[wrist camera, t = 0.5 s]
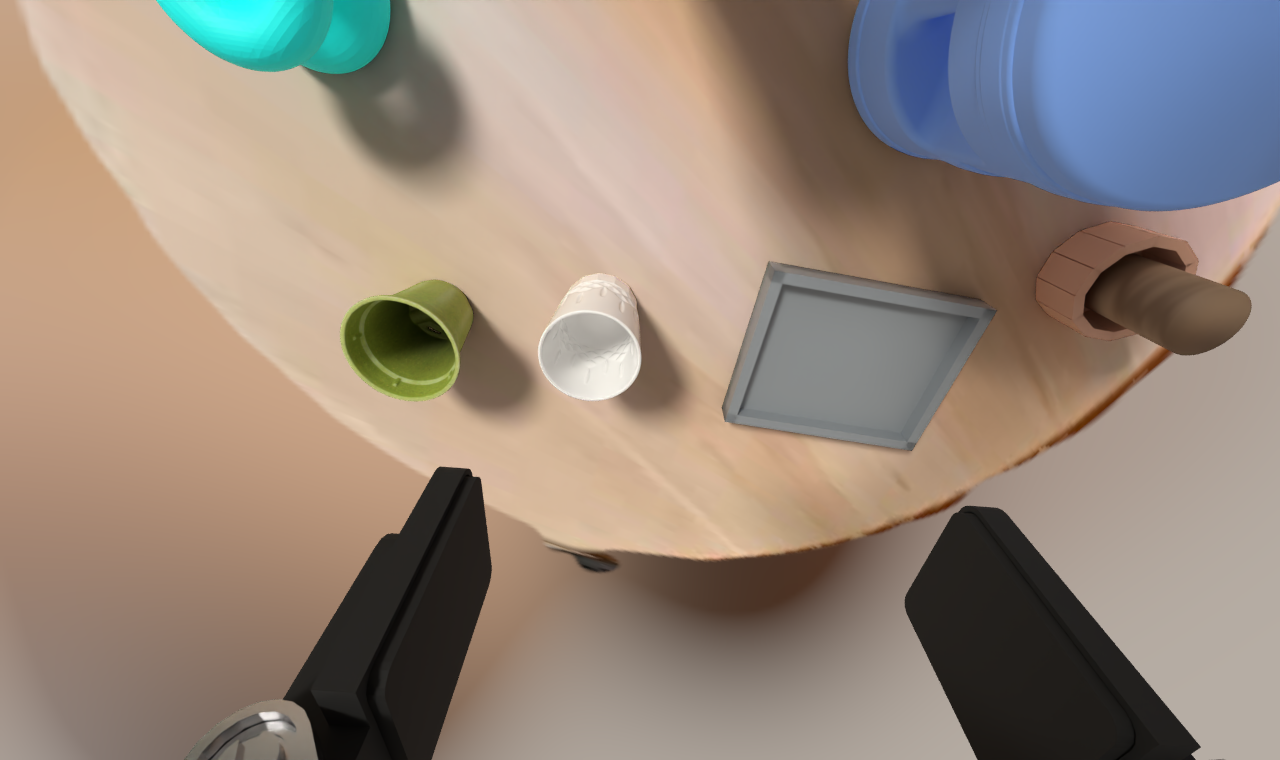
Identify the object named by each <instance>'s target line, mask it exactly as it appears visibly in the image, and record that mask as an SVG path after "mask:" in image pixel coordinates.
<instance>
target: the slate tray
mask: <svg viewBox="0 0 1280 760" xmlns="http://www.w3.org/2000/svg"><path fill="white" fill-rule="evenodd" d="M996 311H997V310H996V309H994V308H993V307H991V306H990V305H988V304H987V303H985V302H984V301H982V300H981V299H975V298H970V297H964V296H959V295H953V294H948V293H942V292H937V291H931V290H926V289H920V288H914V287H909V286H903V285H898V284H892V283H887V282H881V281H876V280H870V279H865V278H859V277H854V276H848V275H843V274H837V273H831V272H826V271H820V270H815V269H809V268H804V267H798V266H793V265H787V264H782V263H776V262H771V261H769V262H768V265H767V268H766V271H765V274H764V278H763V281H762V284H761V287H760V290H759V293H758V296H757V299H756V303H755V306H754V309H753V312H752V315H751V318H750V321H749V324H748V328H747V331H746V334H745V337H744V340H743V343H742V346H741V349H740V353H739V356H738V359H737V362H736V365H735V368H734V371H733V374H732V378H731V381H730V384H729V387H728V390H727V393H726V396H725V399H724V403H723V406H722V410H723V415H724V420H725V422H730V423H737V424H743V425H749V426H756V427H762V428H769V429H775V430H782V431H788V432H794V433H801V434H807V435H814V436H820V437H827V438H833V439H839V440H846V441H852V442H859V443H865V444H872V445H878V446H885V447H891V448H897V449H904V450H910V451H912V450H913V448H914V447H915V445H916V443H917V442H918V440H919V438H920V437H921V435H922V433H923V432H924V430H925V428H926V427H927V425H928V423H929V422H930V420H931V419H932V417H933V415H934V414H935V412H936V410H937V409H938V407H939V405H940V404H941V402H942V400H943V399H944V397H945V395H946V394H947V392H948V391H949V389H950V387H951V386H952V384H953V382H954V381H955V379H956V377H957V376H958V374H959V372H960V371H961V369H962V367H963V366H964V364H965V363H966V361H967V359H968V358H969V356H970V354H971V353H972V351H973V349H974V348H975V346H976V344H977V343H978V341H979V339H980V338H981V336H982V335H983V333H984V331H985V330H986V328H987V326H988V325H989V323H990V321H991V320H992V318H993V316H994V315H995V313H996Z"/></svg>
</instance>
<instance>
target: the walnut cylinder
mask: <svg viewBox="0 0 1280 760" xmlns="http://www.w3.org/2000/svg"><path fill="white" fill-rule="evenodd" d="M1084 307H1086V308H1088V309H1090V310H1092V311H1094V312H1096V313H1098V314H1100V315H1102V316H1104V317H1106V318H1108V319H1109V320H1111V321H1113V322H1115V323H1117V324H1119V325H1121V326H1123V327H1125V328H1127V329H1129V330H1131V331H1133V332H1135V333H1137V334H1139V335H1141V336H1142V337H1144V338H1146V339H1148V340H1150V341H1152V342H1154V343H1156V344H1158V345H1160V346H1162V347H1164V348H1166V349H1168V350H1170V351H1172V352H1174V353H1176V354H1180V355H1196V354H1200V353H1203V352H1207V351H1209V350H1211V349H1214V348H1216V347H1218V346H1220V345H1221V344H1223V343H1225V342H1226V341H1227V340H1229V339H1230V338H1231V337H1233V336H1234V335H1235V334H1236V333H1237V332H1238V331H1239V330H1240V329H1241V328H1242V327H1243V325H1244V323H1245V322H1246V321H1247V319H1248V317H1249V315H1250V312H1251V300H1250V298H1249V297H1248V295H1247V294H1245V293H1244V292H1241V291H1239V290H1236V289H1233V288H1230V287H1228V286H1225V285H1222V284H1219V283H1216V282H1213V281H1211V280H1208V279H1205V278H1202V277H1199V276H1196V275H1194V274H1191V273H1188V272H1185V271H1182V270H1179V269H1177V268H1174V267H1171V266H1168V265H1165V264H1162V263H1160V262H1157V261H1154V260H1151V259H1148V258H1145V257H1142V256H1140V255H1137V254H1134V253H1131V254H1127V255H1125V256H1124V257H1122V258H1121V259H1119V260H1118V261H1117V262H1115V263H1114V264H1112V265H1111V266H1110V267H1108V268H1107V269H1105V270H1104V271H1103V272H1101V273H1100V275H1099V276H1098V278H1097V279H1096V280H1095V282H1094V283H1093V285H1092V286H1091V288H1090V289H1089V290H1088V292H1087V293H1086V295H1085V302H1084Z"/></svg>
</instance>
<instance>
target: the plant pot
mask: <svg viewBox="0 0 1280 760" xmlns="http://www.w3.org/2000/svg"><path fill="white" fill-rule="evenodd" d="M472 322H473V311H472V309H471V307H470V304H469V302H468V300H467V298H466V296H465V295H464V294H463V293H462V292H461V291H460V290H459V289H458V288H456V287H455V286H453V285H452V284H449V283H447V282H444V281H440V280H428V281H424V282H421V283H418V284H416V285H414V286H412V287H410V288H408V289H405V290H403V291H401V292H399V293H396V294H394V295H379V296H373V297H369V298H366V299H364V300H361V301H360V302H358V303H356V304H355V305H354V306H352V307H351V308H350V309H349V310H348V311H347V313H346V314H345V316H344V318H343V321H342V324H341V329H340V342H341V346H342V350H343V353H344V355H345V358H346V359H347V361H348V363H349V365H350V366H351V368H352V369H353V370H354V372H355V373H356V374H357V375H358V376H359V377H360V378H361V379H362V380H363V381H364V382H365V383H367V384H368V385H369V386H371V387H372V388H373V389H375V390H377V391H378V392H380V393H382V394H385V395H387V396H389V397H392V398H395V399H399V400H405V401H426V400H430V399H434V398H436V397H439V396H441V395H442V394H444V393H445V392H447V391H448V390H449V389H450V388H451V386H452V385H453V384H454V382H455V381H456V379H457V377H458V374H459V370H460V351H461V349H462V346H463V344H464V342H465V339H466V337H467V335H468V332H469V330H470V328H471V326H472ZM428 326H429V327H431V328H433V329H434V330H436V331H439V332H441V334H437V333H435V332H432V331H431V330H429V329H428Z"/></svg>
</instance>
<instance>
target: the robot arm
mask: <svg viewBox="0 0 1280 760" xmlns="http://www.w3.org/2000/svg"><path fill="white" fill-rule="evenodd" d="M491 571H492V565H491V557H490V549H489V541H488V533H487V525H486V517H485V510H484V500H483V492H482V484H481V479H480V477H473V476H472V472H471V470H470V469H465V468H451V467H439V468H437V469H436V471H435V472H434V474H433V476H432V477H431V479H430V481H429V483H428V484H427V486H426V488H425V490H424V491H423V493H422V495H421V497H420V499H419V500H418V502H417V504H416V506H415V507H414V509H413V511H412V513H411V514H410V516H409V518H408V520H407V521H406V523H405V525H404V527H403V528H402V530H401V532H400V534H393V533H391V534H387V535H385V536H384V537H383V538H381V540H380V541H379V543H378V544H377V545H376V547H375V548H374V550H373V552H372V553H371V555H370V557H369V558H368V560H367V562H366V563H365V565H364V566H363V568H362V570H361V571H360V573H359V575H358V576H357V578H356V580H355V581H354V583H353V585H352V586H351V588H350V590H349V591H348V593H347V595H346V596H345V598H344V600H343V602H342V603H341V604H340V606H339V608H338V609H337V611H336V613H335V614H334V616H333V618H332V619H331V621H330V623H329V624H328V626H327V628H326V629H325V631H324V632H323V634H322V636H321V638H320V639H319V641H318V643H317V644H316V646H315V647H314V649H313V651H312V652H311V654H310V656H309V657H308V660H307V661H306V662H305V664H304V666H303V667H302V669H301V670H300V672H299V674H298V675H297V677H296V679H295V680H294V682H293V684H292V685H291V687H290V689H289V690H288V692H287V694H286V696H285V697H284V698H283V700H280V699H274V700H268V701H262V702H258V703H255V704H253V705H250V706H248V707H245V708H243V709H241V710H238V711H237V712H235V713H233V714H232V715H230V716H229V717H227V718H226V719H224V720H223V721H221V722H220V723H218V724H217V725H216V726H215V727H214V728H212V729H211V730H210V731H209V732H208V733H207V734H206V735H205V736H204V737H202V738H201V739H200V740H199V741H198V742H197V743H196V745H195V746H194V747H193V748H192V750H191V751H190V752H189V754H188V755H187V756H186V758H185V759H184V760H431V759H432V756H433V753H434V750H435V747H436V744H437V741H438V738H439V735H440V732H441V729H442V726H443V723H444V720H445V717H446V714H447V711H448V708H449V705H450V702H451V699H452V696H453V693H454V690H455V687H456V684H457V680H458V678H459V674H460V672H461V668H462V665H463V662H464V659H465V656H466V653H467V650H468V647H469V644H470V641H471V638H472V635H473V632H474V629H475V626H476V623H477V620H478V617H479V614H480V611H481V608H482V605H483V602H484V599H485V596H486V593H487V590H488V587H489V583H490V578H491ZM905 608H906V612H907V615H908V617H909V619H910V621H911V623H912V625H913V627H914V630H915V632H916V634H917V636H918V638H919V639H920V642H921V644H922V646H923V648H924V650H925V652H926V654H927V656H928V658H929V660H930V663H931V665H932V666H933V669H934V671H935V673H936V675H937V677H938V679H939V681H940V683H941V685H942V687H943V689H944V691H945V694H946V696H947V698H948V699H949V702H950V704H951V706H952V708H953V710H954V712H955V714H956V716H957V718H958V720H959V722H960V724H961V727H962V729H963V731H964V733H965V735H966V737H967V739H968V741H969V743H970V745H971V747H972V749H973V751H974V753H975V755H976V758H977V759H978V760H1195V758H1194V757H1193V756H1192V755H1191V754H1192V753H1193V752H1195V751H1196V750H1197V749H1199V748H1200V745H1199V744H1198V743H1197V742H1196V741H1195V739H1194V738H1193V737H1192V736H1191V735H1190V733H1189V732H1188V731H1187V730H1186V729H1185V727H1184V726H1183V725H1182V724H1181V723H1180V721H1179V720H1178V719H1177V718H1176V717H1175V715H1174V714H1173V713H1172V712H1171V711H1170V710H1169V708H1168V707H1167V706H1166V705H1165V703H1164V702H1163V701H1162V700H1161V699H1160V697H1159V696H1158V695H1157V694H1156V693H1155V692H1154V690H1153V689H1152V688H1151V687H1150V685H1149V684H1148V683H1147V682H1146V681H1145V679H1144V678H1143V677H1142V676H1141V675H1140V673H1139V672H1138V671H1137V670H1136V669H1135V667H1134V666H1133V665H1132V664H1131V663H1130V661H1129V660H1128V659H1127V658H1126V657H1125V655H1124V654H1123V653H1122V652H1121V651H1120V649H1119V648H1118V647H1117V646H1116V645H1115V643H1114V642H1113V641H1112V640H1111V639H1110V637H1109V636H1108V635H1107V634H1106V633H1105V632H1104V630H1103V629H1102V628H1101V627H1100V625H1099V624H1098V623H1097V622H1096V621H1095V619H1094V618H1093V617H1092V616H1091V615H1090V613H1089V612H1088V611H1087V610H1086V609H1085V607H1084V606H1083V605H1082V604H1081V603H1080V601H1079V600H1078V599H1077V598H1076V597H1075V595H1074V594H1073V593H1072V592H1071V591H1070V589H1069V588H1068V587H1067V586H1066V585H1065V584H1064V582H1063V581H1062V580H1061V579H1060V577H1059V576H1058V575H1057V574H1056V573H1055V572H1054V570H1053V569H1052V568H1051V567H1050V565H1049V564H1048V563H1047V562H1046V561H1045V559H1044V558H1043V557H1042V556H1041V555H1040V554H1039V552H1038V551H1037V550H1036V549H1035V547H1034V546H1033V545H1032V544H1031V543H1030V541H1029V540H1028V539H1027V538H1026V537H1025V535H1024V534H1023V533H1022V532H1021V531H1020V529H1019V528H1018V527H1017V526H1016V525H1015V523H1014V522H1013V521H1012V520H1011V519H1010V517H1009V516H1008V515H1007V514H1006V513H1005V512H1004V511H1003V510H1001V509H998V508H991V507H977V506H965V507H963V508H961V510H960V511H959V512H958V513H955V514H953V516H952V517H951V519H950V520H949V522H948V524H947V525H946V527H945V529H944V530H943V532H942V534H941V536H940V537H939V539H938V541H937V543H936V544H935V546H934V548H933V549H932V551H931V553H930V555H929V556H928V558H927V560H926V562H925V563H924V565H923V567H922V568H921V570H920V572H919V574H918V576H917V577H916V579H915V580H914V582H913V584H912V586H911V587H910V589H909V591H908V592H907V594H906V597H905ZM1218 760H1224V759H1218Z"/></svg>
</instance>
